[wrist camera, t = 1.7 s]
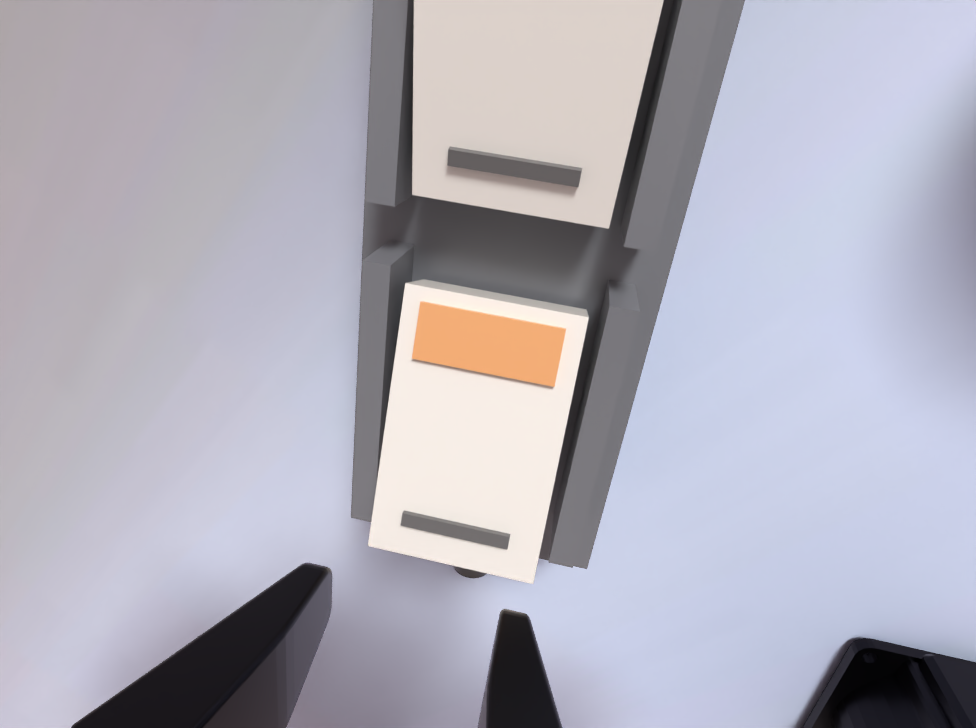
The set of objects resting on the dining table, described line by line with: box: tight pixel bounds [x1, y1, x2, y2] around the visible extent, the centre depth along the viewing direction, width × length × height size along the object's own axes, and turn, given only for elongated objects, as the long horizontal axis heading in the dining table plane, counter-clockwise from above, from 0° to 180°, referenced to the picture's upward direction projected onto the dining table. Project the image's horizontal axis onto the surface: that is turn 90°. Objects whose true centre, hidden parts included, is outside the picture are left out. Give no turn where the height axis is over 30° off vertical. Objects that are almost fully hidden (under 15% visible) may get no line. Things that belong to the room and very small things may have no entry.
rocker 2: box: [412, 0, 664, 229], centre depth 10 cm, size 6×4×2 cm, turn 173°
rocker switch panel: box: [351, 0, 745, 578], centre depth 14 cm, size 30×7×6 cm, turn 172°
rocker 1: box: [368, 279, 589, 584], centre depth 14 cm, size 6×4×2 cm, turn 172°
